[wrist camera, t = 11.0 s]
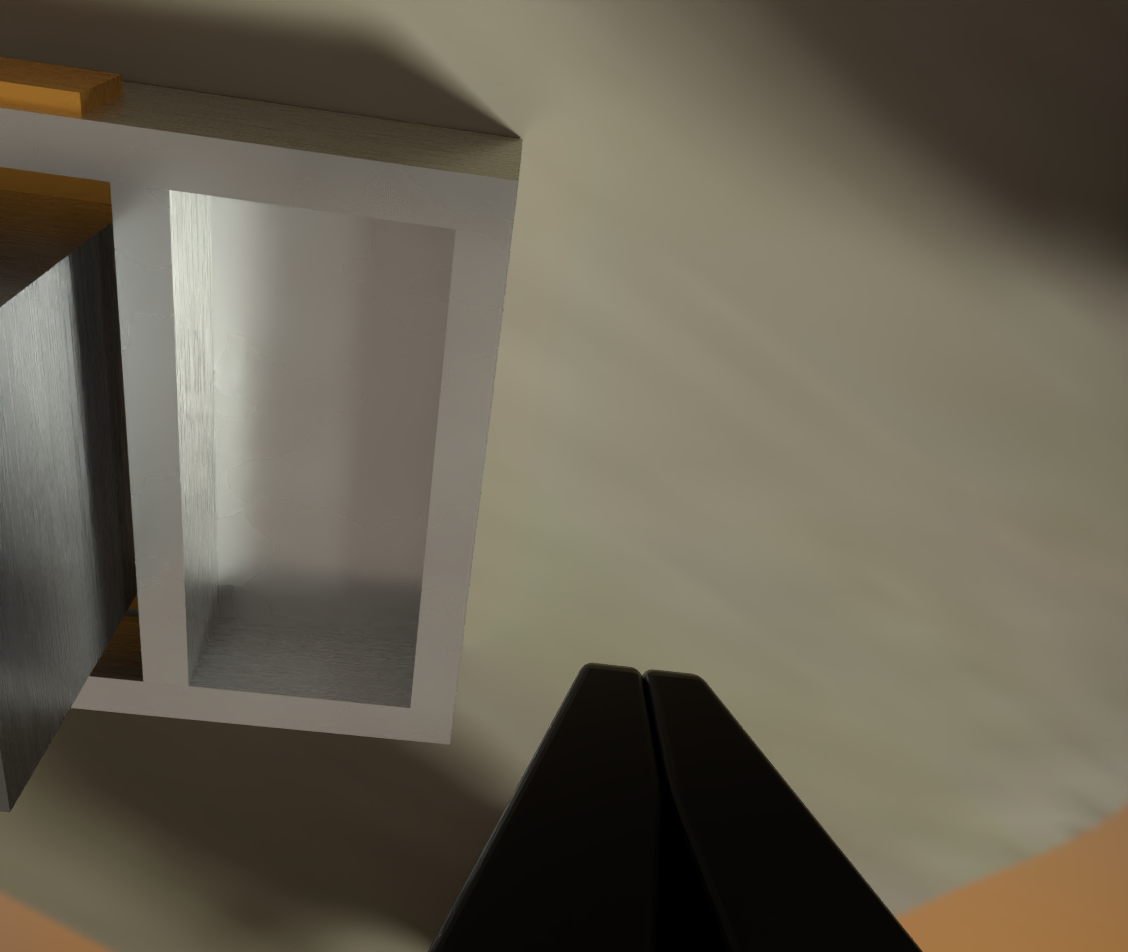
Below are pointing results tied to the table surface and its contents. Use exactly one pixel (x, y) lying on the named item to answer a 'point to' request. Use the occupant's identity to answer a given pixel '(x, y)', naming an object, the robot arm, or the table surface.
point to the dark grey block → (58, 468)
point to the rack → (286, 391)
